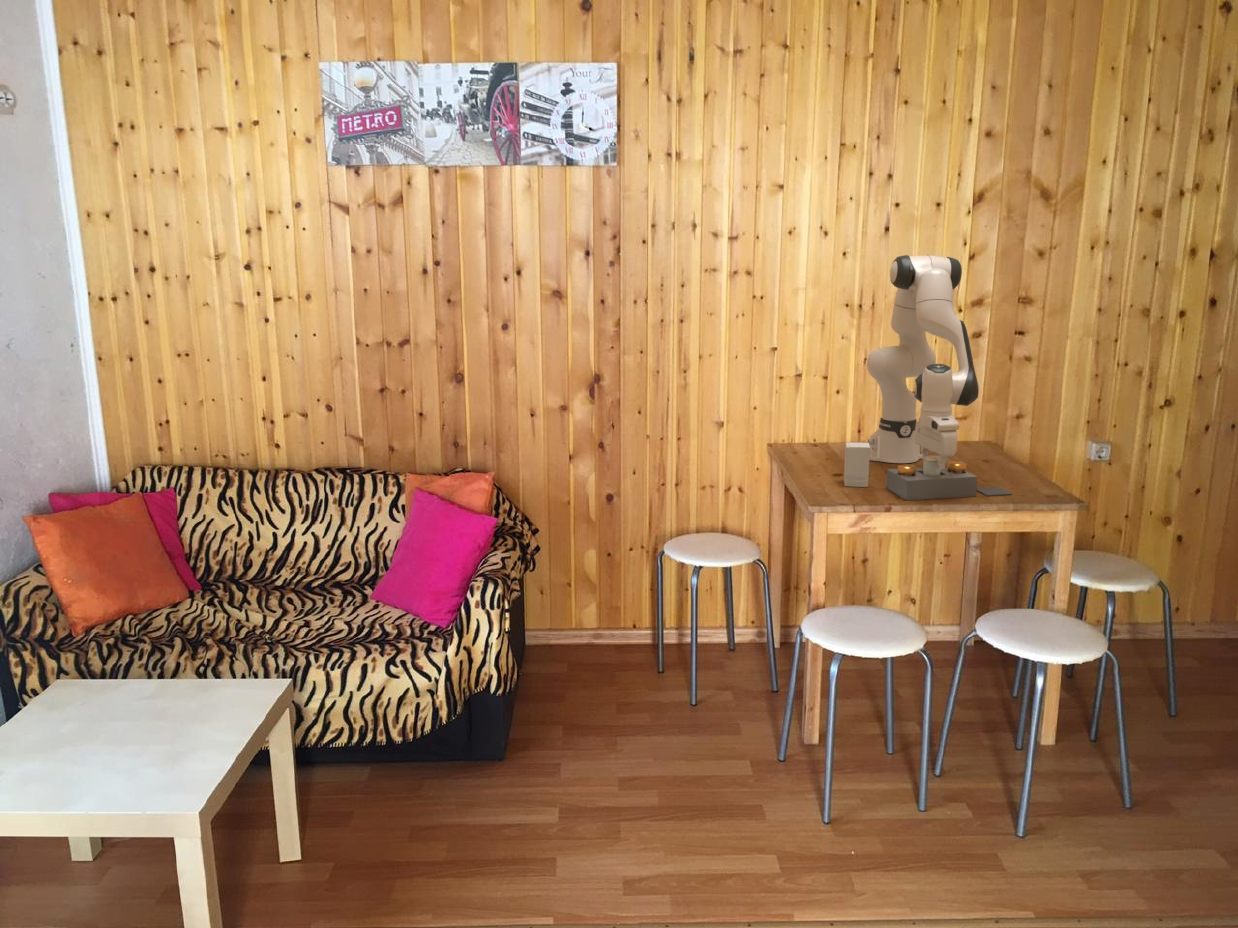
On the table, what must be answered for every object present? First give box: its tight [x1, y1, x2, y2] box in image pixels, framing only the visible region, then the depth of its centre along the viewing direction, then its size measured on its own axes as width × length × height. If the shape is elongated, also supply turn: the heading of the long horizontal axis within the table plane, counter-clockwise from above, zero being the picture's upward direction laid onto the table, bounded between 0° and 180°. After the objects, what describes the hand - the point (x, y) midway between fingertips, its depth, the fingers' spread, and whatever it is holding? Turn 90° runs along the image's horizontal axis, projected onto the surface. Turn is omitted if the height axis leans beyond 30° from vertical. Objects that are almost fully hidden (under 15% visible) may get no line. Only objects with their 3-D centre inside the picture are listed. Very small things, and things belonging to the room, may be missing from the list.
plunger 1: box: [897, 463, 917, 477], centre depth 303 cm, size 5×5×8 cm
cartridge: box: [922, 454, 941, 476], centre depth 304 cm, size 5×5×11 cm
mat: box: [976, 486, 1013, 497], centre depth 304 cm, size 8×8×1 cm
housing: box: [885, 465, 978, 501], centre depth 305 cm, size 14×22×6 cm, turn 99°
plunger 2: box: [947, 460, 967, 474], centre depth 305 cm, size 5×5×8 cm
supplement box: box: [843, 441, 870, 488], centre depth 314 cm, size 7×7×13 cm
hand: (933, 464), depth 303 cm, fingers open, 8 cm apart
